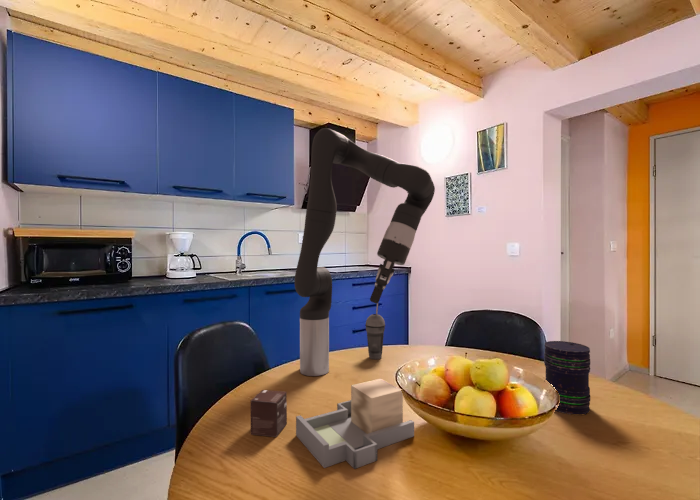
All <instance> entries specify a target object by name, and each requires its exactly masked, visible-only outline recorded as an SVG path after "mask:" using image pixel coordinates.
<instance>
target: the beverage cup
mask: <svg viewBox="0 0 700 500" xmlns="http://www.w3.org/2000/svg"><path fill="white" fill-rule="evenodd" d="M378 308H379V302H378V303H376V309H375V313H372V314H370V315H369V316H368V317H367V318H366V321H365V325H364V327H365V332H366V338H367V340H366V341H367V351H368V358H369V359H371V360H380V359H382V356H383V346H384V337H385V336H384V335H385V333H384V332H385V329H386V321H385V319H384V318H383V316H382V315H380V314H378V311H379V309H378Z"/></svg>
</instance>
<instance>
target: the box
mask: <svg viewBox="0 0 700 500" xmlns="http://www.w3.org/2000/svg"><path fill="white" fill-rule="evenodd" d="M287 411H288V406H287V391H283V390H282V391H281V390H270V389H269V390H267V389H266V390H265V389H264V390H261V391H260V392H258V393H257V394H256V395H255V396H254V397H252V398H251V400H250V435H253V436H263V437H264V436H265V437H273V438H276V437H278V436H279V434H280V433H282V431H283V430H284V428H285V427H286V425H287V424H288V418H287V417H288V416H287V415H288V413H287Z"/></svg>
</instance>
